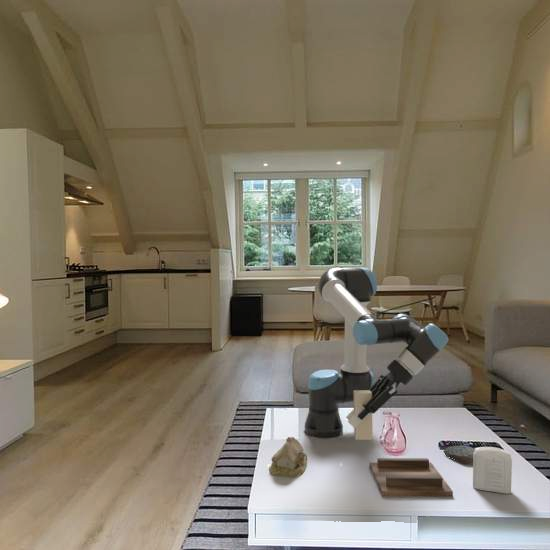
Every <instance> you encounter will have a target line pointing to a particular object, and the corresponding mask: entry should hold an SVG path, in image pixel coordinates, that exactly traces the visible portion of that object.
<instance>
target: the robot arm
mask: <svg viewBox="0 0 550 550" xmlns="http://www.w3.org/2000/svg"><path fill="white" fill-rule="evenodd" d="M317 288H318V293H319V294H320V297H322V299H323V300H324V301H326V302H327V303H331V305H332V306H334V309H336V310H337V312H339V313H340V314H341V316H342V317H343V318H344V363H343V364H342V365H341V366H340V372H338V370H335V369H320V370H317V371H314V372H313V373H311V374H310V375H309V377H308V385H307V387H308V413H307V415H306V418H305V423H304V432H305V434H307V435H309V436H312V437H316V438H323V439H325V438H327V439H329V438H335V437H339V436H341V435H342V434H343V432H344V429H343V428H344V426H343V423H342V419H341V416H340V413H339V404H344V403H346V404H347V403H354V390H370V391H371V393H372V398H371V400H370V401H369V402H368V403H367V404H366V405H364V404H363V405H362V407H361V408H360V409H359V410H358V411H357V412H356V413H355V414H354V408H352V410H351V411H350V412H349V413H348V414H347V415H346V417H345V418H346V419H347V423H349V425H351V426H352V428H353V429H354V428H356V427H357V426H358V425H359V424H360V423H361V422H362V421H363V419H364V418H365V417H366V416H367V415H368V414H369V413H372V415H373V414H375V413H377V411H378V410H380V408H382V406H384V405H385V404H386V403H387V402H388V401H389V400H390V399H391V398H392V397H393V396H395V395H397V393H398V390H397V389H398V387H399V386H400V384H403V386H406V385H408V384H409V383H410V381H411V380H412V379H414V378H413V377H414V376H417V374H419V372H422V371H423V368H424V367H426V365H427V364H428V363H429V362H430V361H432V359H433V358H434V357H435V356H436V355H438V354H439V353H440V352H441V351H442V350H443V349H444V347H445V346H446V344H448V342H449V337H448V335H447V334H446V333H445V332H444V331H443V330H442V329H440V327H438V326H437V325H436V324H434V323H428V325H426V326H424V325H422V324H421V323H420V322H419V321H417V320H416V319H415V318H413V317H411V316H410V315H408V314H406V313H399V314H397V315H394V317H393V318H389V319H386V318H385V319H378V318H377V317H376V316H375V315H374V314H372V312H371V311H370V310H369V309H368V307H367V306H368V304H370V303H371V301H372V299H371V297H373V296H375V295H376V292H377V290H378V282H377V278H376V276H375V274H374V273H373V271H372V270H371V269H370V268H368V267H360V266H358V267H333V268H330V269H328V270H325V271H324V273H323V274H322V275H321V276H320V278H319V280H318V284H317ZM398 343H405V344H406V345H407V346H406V347H405V348H403V349H402V351H401V352H399V353H398V355H397V356H396V359H393V360H392V361H391V362H390V363H389V364H388V365H387V367H386V369H387V370H388V371H389V372H388V373H387V374H385V375H383V374H381V375H380V376H379V378H378V379H377V380H376V379H375V375H374V373H373V372H372V371H370V369H371V368H370V367H369V366H368V365H367V346H373V345H382V344H383V345H385V344H398ZM413 375H414V376H413Z"/></svg>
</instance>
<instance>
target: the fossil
mask: <svg viewBox="0 0 550 550" xmlns="http://www.w3.org/2000/svg"><path fill="white" fill-rule="evenodd" d="M474 451H475V447H474V448H473V447H472V446H468V445H464V444H463V445H452V446H448V447H446V448H445V449H444V450H443V452H444V453H445V455H446V456H447V457H450V458H453V459H455V460H457V461H459V462H461V463H460V464H462V463H463V464H462V465H471V464H470V463H473V454H474ZM445 455H444V456H445ZM446 456H445V457H446ZM447 457H446V458H447ZM450 458H449V459H450ZM455 460H454V461H455ZM457 461H456V462H457ZM459 462H458V463H459Z"/></svg>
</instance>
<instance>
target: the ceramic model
mask: <svg viewBox="0 0 550 550" xmlns="http://www.w3.org/2000/svg"><path fill="white" fill-rule="evenodd" d="M270 460H271V461H272V463H271V465H270V466H269V468H268V470H269V473H270V474H271V475H273V476H277V477H285V478H295V477H298V476H301V475H303V473H304V471H305V470H306V467H307V464H308V455H307V453H305V452H304V448H303V446H302V445H301V443H300V442H299V440H298V439H296V438H295V437H294V436H291V437H290V436H288V437H287V438H286V441H285V442H284V444H283V445H282V447H281V448H280V449H278V450H277V452H276V453H274V454H273V456H272V457H271V459H270Z"/></svg>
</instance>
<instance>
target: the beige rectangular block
mask: <svg viewBox="0 0 550 550" xmlns="http://www.w3.org/2000/svg"><path fill="white" fill-rule="evenodd" d="M371 398H372V393H371V391H370V390H354V402H353V409H354V414H355V413H356V412H357V411H358V410H359V409H360V408H361V407H362V405H363V404H364V405H366V404H367V403H368V402H369V401H370V400H371ZM353 430H354V433H353V435H354V438H355V440H357V441H358V440H360V441H363V440H366V441H367V440H368V441H369V440H370V441H371V440H373V413H369V414H368V415H367V416H366V417H365V418H364V419H363V421H362V422H361V423H360V424H359V425H358V426H357V427H356V428H354V427H353Z"/></svg>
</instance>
